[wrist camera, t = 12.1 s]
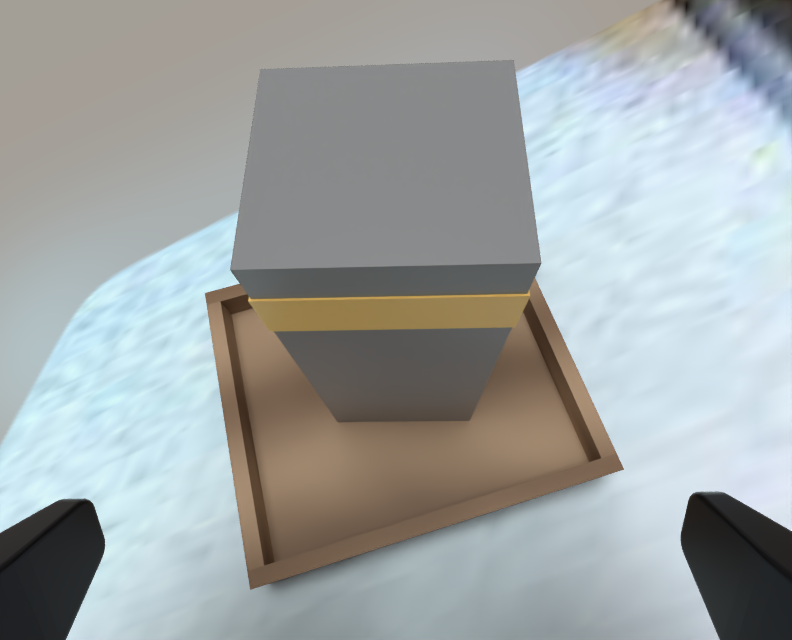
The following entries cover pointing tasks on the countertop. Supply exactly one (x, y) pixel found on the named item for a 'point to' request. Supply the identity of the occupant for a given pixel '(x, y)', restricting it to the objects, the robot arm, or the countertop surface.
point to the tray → (391, 446)
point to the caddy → (389, 231)
